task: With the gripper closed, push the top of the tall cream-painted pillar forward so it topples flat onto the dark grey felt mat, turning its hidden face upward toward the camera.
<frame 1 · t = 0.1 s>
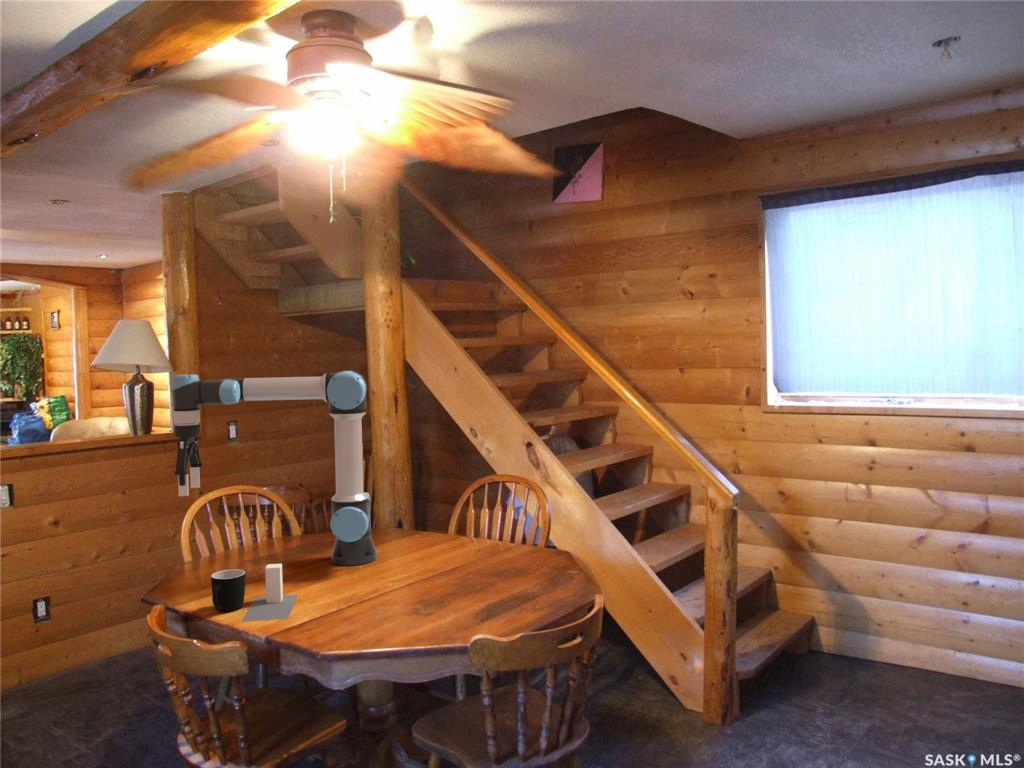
hand: (189, 491, 243), 28 cm above the table, fingers open, 13 cm apart
felt mat: (271, 608, 216), on the table
pillar: (274, 600, 222), resting on felt mat
mug: (226, 612, 215), on the table
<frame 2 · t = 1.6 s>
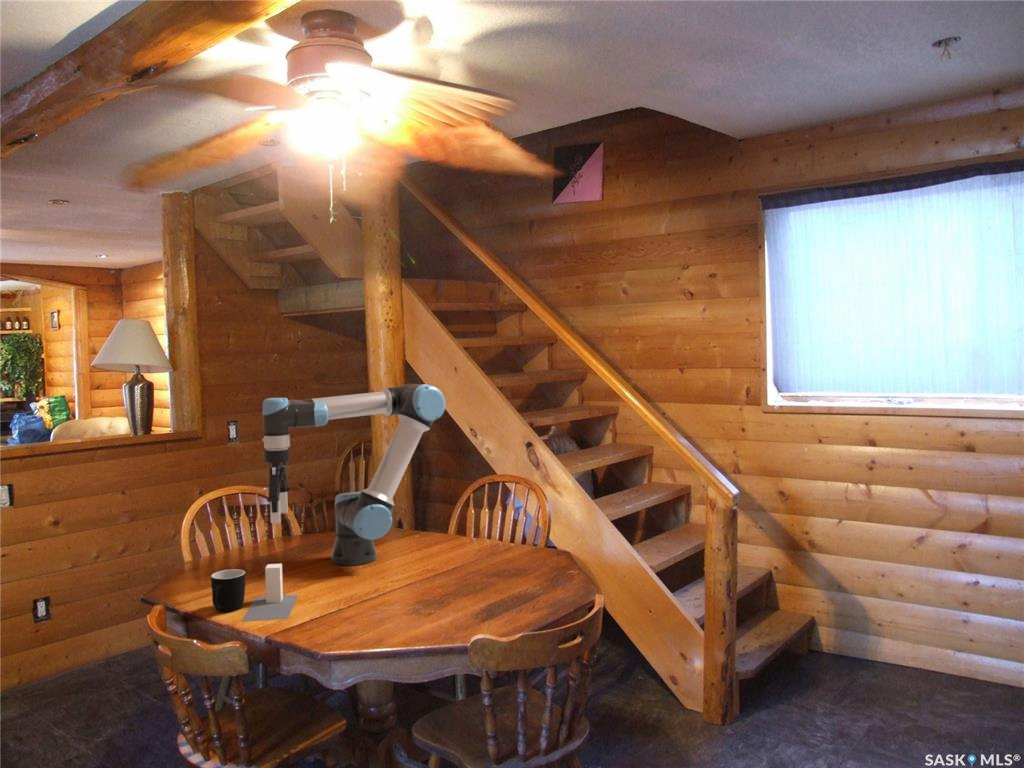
hand: (279, 517, 237), 21 cm above the table, fingers open, 13 cm apart
nothing on the table moved.
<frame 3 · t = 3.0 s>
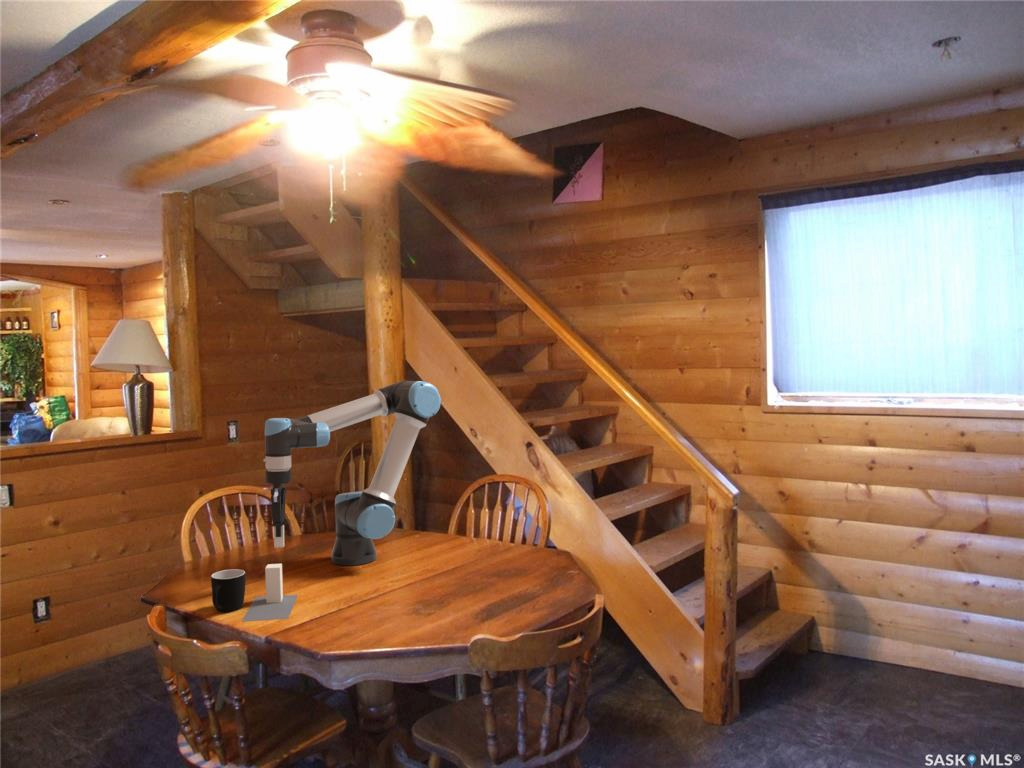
hand: (279, 546, 236), 12 cm above the table, fingers closed
nothing on the table moved.
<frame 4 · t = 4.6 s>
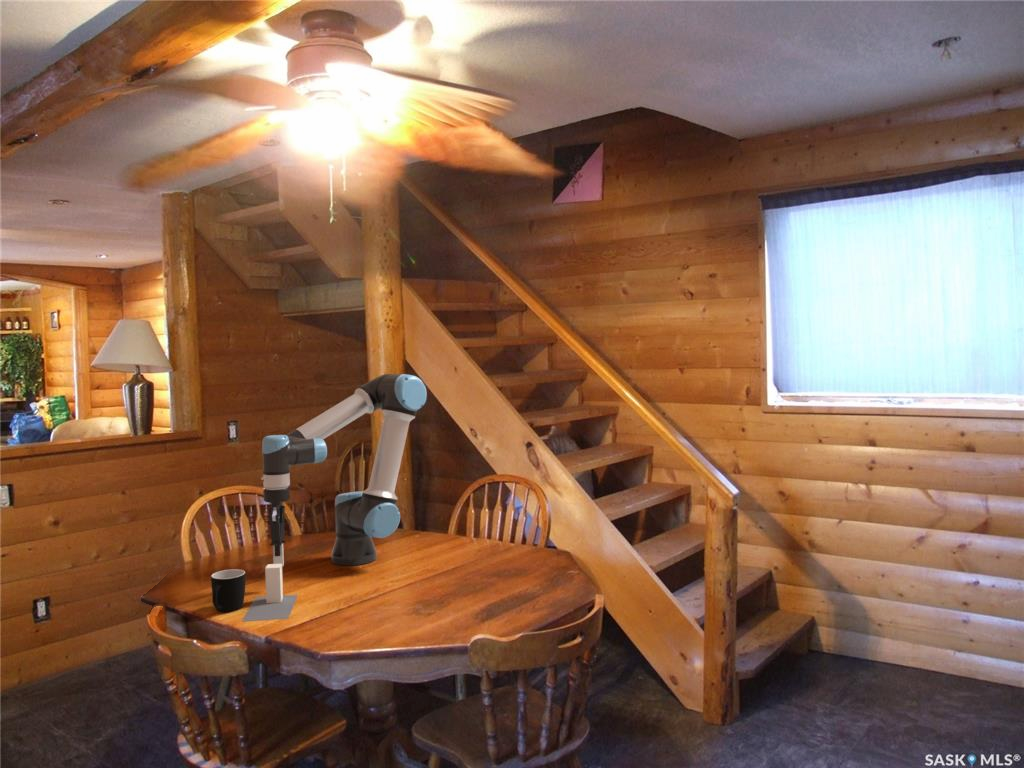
hand: (278, 565, 232), 8 cm above the table, fingers closed
nothing on the table moved.
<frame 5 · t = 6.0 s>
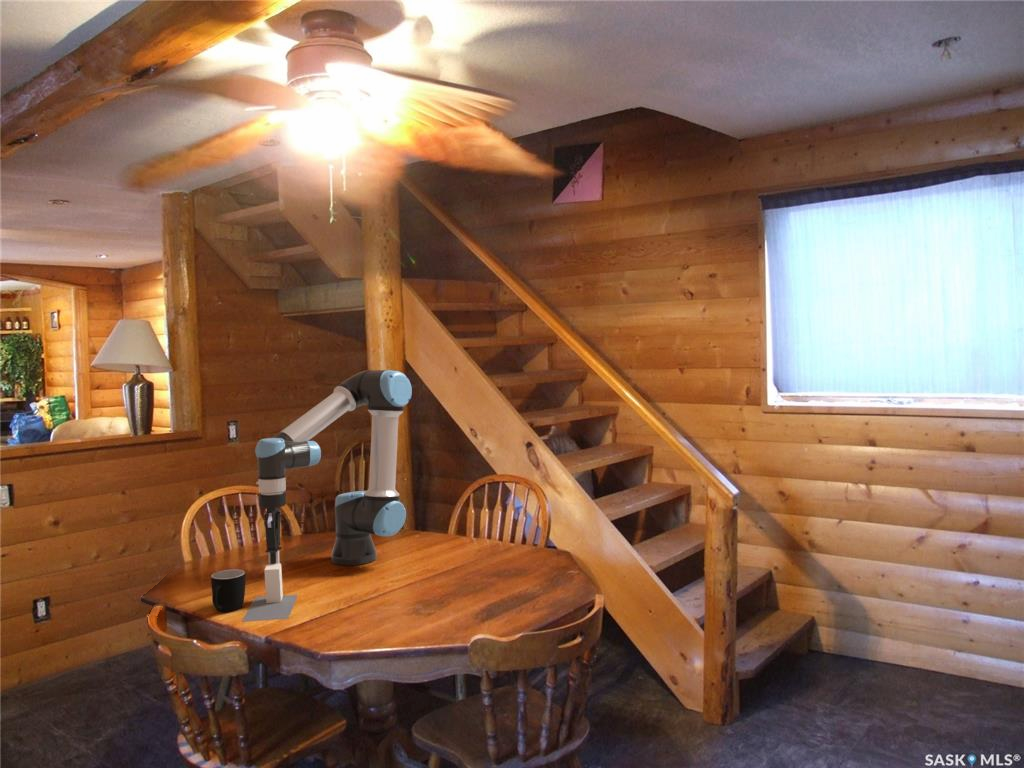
hand: (274, 573, 224), 8 cm above the table, fingers closed
pillar: (274, 599, 222), point 1 cm above the table, tilted 8°, touching felt mat, gripper
everything else where it was.
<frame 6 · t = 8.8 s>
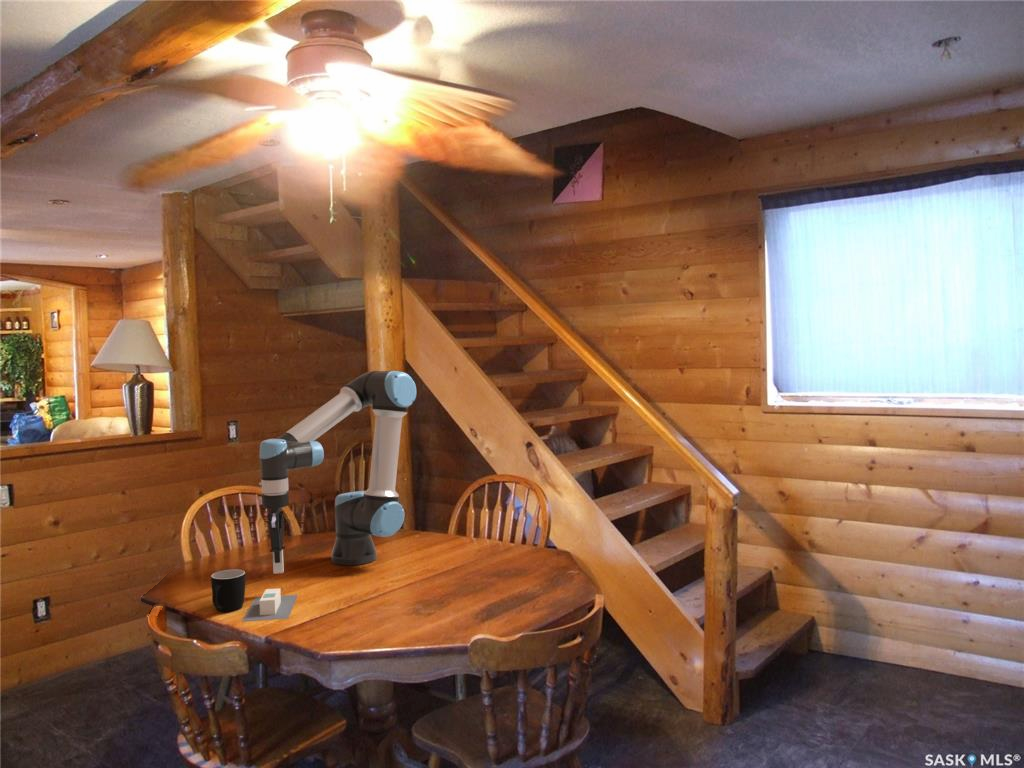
hand: (278, 572, 227), 7 cm above the table, fingers closed
pillar: (273, 595, 220), point 2 cm above the table, tilted 90°, touching felt mat
everything else where it was.
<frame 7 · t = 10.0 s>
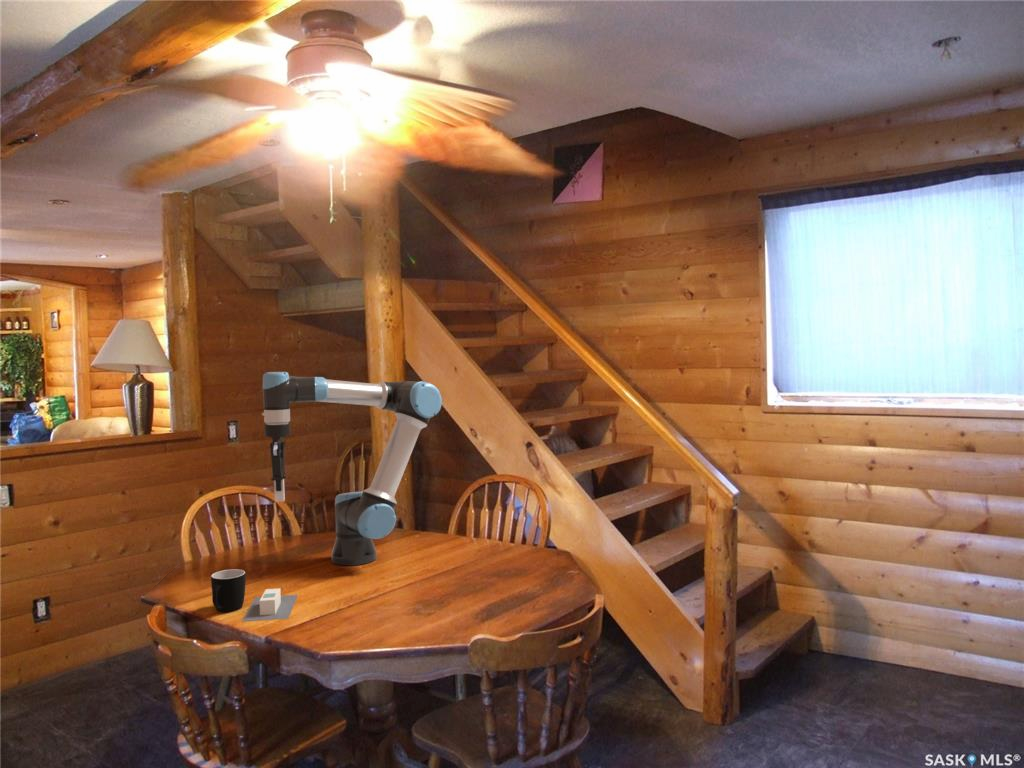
hand: (279, 500, 235), 26 cm above the table, fingers closed
nothing on the table moved.
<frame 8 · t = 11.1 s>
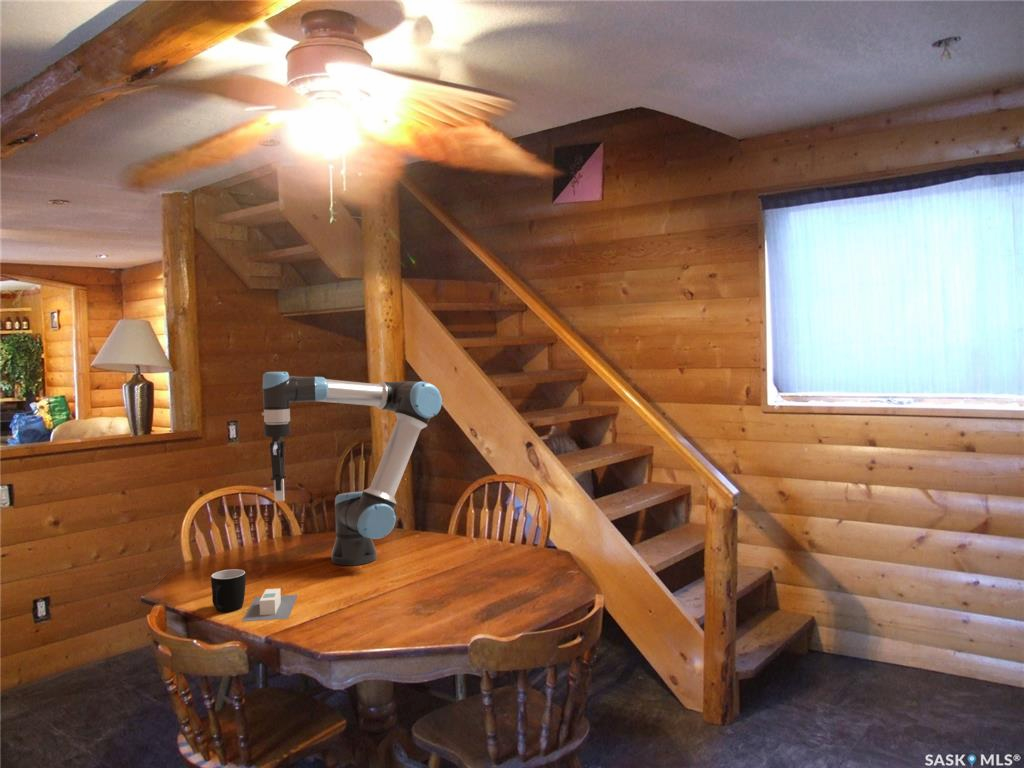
hand: (279, 500, 235), 26 cm above the table, fingers closed
nothing on the table moved.
at the end: pillar tilted 90°; pillar inside the target area (6.0 cm from its centre), point 2.4 cm above the table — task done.
